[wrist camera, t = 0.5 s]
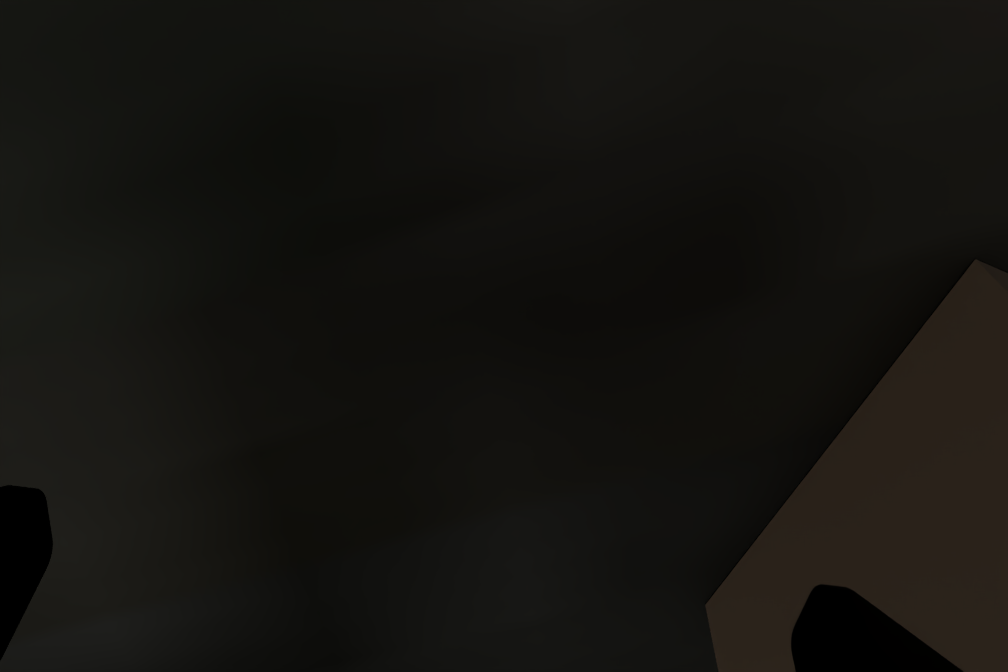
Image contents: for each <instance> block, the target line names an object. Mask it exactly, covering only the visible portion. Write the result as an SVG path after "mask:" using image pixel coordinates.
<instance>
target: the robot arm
mask: <svg viewBox="0 0 1008 672" xmlns="http://www.w3.org/2000/svg"><path fill="white" fill-rule="evenodd" d="M52 547H53V540H52V533H51V527H50V520H49V514H48V507H47V501H46V497H45V495H44V493H43V492H42V491H41V490H39V489H36V488H28V487H20V486H12V485H7V486H3V487H0V660H1V658H2V657H3V655H4V653H5V651H6V649H7V647H8V645H9V643H10V641H11V639H12V637H13V635H14V633H15V631H16V629H17V627H18V625H19V623H20V621H21V619H22V617H23V615H24V613H25V611H26V609H27V607H28V605H29V603H30V601H31V599H32V597H33V595H34V593H35V591H36V589H37V587H38V585H39V583H40V581H41V579H42V577H43V575H44V573H45V571H46V569H47V566H48V564H49V561H50V558H51V554H52ZM791 651H792V657H793V661H794V666H795V670H796V672H964V671H962V670H961V669H960V668H958V667H957V666H956V665H954V664H953V663H951V662H950V661H949V660H947V659H946V658H945V657H943V656H942V655H941V654H939V653H938V652H937V651H935V650H934V649H932V648H931V647H930V646H928V645H927V644H926V643H924V642H923V641H922V640H920V639H919V638H918V637H916V636H915V635H913V634H912V633H911V632H909V631H908V630H907V629H905V628H904V627H903V626H901V625H900V624H898V623H897V622H896V621H894V620H893V619H892V618H890V617H889V616H888V615H886V614H885V613H884V612H882V611H881V610H879V609H878V608H877V607H875V606H874V605H873V604H871V603H870V602H869V601H867V600H866V599H865V598H863V597H862V596H860V595H859V594H858V593H856V592H855V591H854V590H852V589H850V588H848V587H842V586H834V585H826V584H820V585H817V586H815V587H814V588H813V589H812V591H811V592H810V594H809V596H808V598H807V601H806V603H805V605H804V607H803V609H802V611H801V613H800V615H799V617H798V619H797V621H796V623H795V626H794V628H793V631H792V636H791Z"/></svg>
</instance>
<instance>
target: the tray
mask: <svg viewBox="0 0 1008 672" xmlns="http://www.w3.org/2000/svg"><path fill="white" fill-rule="evenodd" d="M820 584H826V585H834V586H842V587H848V588H850V589H852V590H854V591H855V592H856V593H858V594H859V595H860V596H862V597H863V598H865V599H866V600H867V601H869V602H870V603H871V604H873V605H874V606H875V607H877V608H878V609H879V610H881V611H882V612H884V613H885V614H886V615H888V616H889V617H890V618H892V619H893V620H894V621H896V622H897V623H898V624H900V625H901V626H903V627H904V628H905V629H907V630H908V631H909V632H911V633H912V634H913V635H915V636H916V637H918V638H919V639H920V640H922V641H923V642H924V643H926V644H927V645H928V646H930V647H931V648H932V649H934V650H935V651H937V652H938V653H939V654H941V655H942V656H943V657H945V658H946V659H947V660H949V661H950V662H951V663H953V664H954V665H956V666H957V667H958V668H960V669H961V670H962V671H964V672H1008V273H1006V272H1004V271H1001V270H999V269H997V268H995V267H992V266H990V265H988V264H985V263H983V262H981V261H979V260H976V259H975V260H974V262H973V263H972V264H971V265H970V267H969V268H968V269H967V271H966V272H965V273H964V274H963V276H962V277H961V278H960V279H959V281H958V282H957V283H956V285H955V286H954V287H953V288H952V290H951V291H950V292H949V294H948V295H947V296H946V297H945V299H944V300H943V301H942V303H941V304H940V305H939V306H938V308H937V309H936V310H935V311H934V313H933V314H932V315H931V317H930V318H929V319H928V320H927V322H926V323H925V324H924V326H923V327H922V328H921V329H920V331H919V332H918V333H917V335H916V336H915V337H914V338H913V340H912V341H911V342H910V343H909V345H908V346H907V347H906V349H905V350H904V351H903V352H902V354H901V355H900V356H899V358H898V359H897V360H896V361H895V363H894V364H893V365H892V367H891V368H890V369H889V370H888V372H887V373H886V374H885V376H884V377H883V378H882V379H881V381H880V382H879V383H878V384H877V386H876V387H875V388H874V390H873V391H872V392H871V393H870V395H869V396H868V397H867V399H866V400H865V401H864V402H863V404H862V405H861V406H860V408H859V409H858V410H857V411H856V413H855V414H854V415H853V416H852V418H851V419H850V420H849V422H848V423H847V424H846V425H845V427H844V428H843V429H842V431H841V432H840V433H839V434H838V436H837V437H836V438H835V440H834V441H833V442H832V443H831V445H830V446H829V447H828V448H827V450H826V451H825V452H824V454H823V455H822V456H821V457H820V459H819V460H818V461H817V463H816V464H815V465H814V466H813V468H812V469H811V470H810V472H809V473H808V474H807V475H806V477H805V478H804V479H803V480H802V482H801V483H800V484H799V486H798V487H797V488H796V489H795V491H794V492H793V493H792V495H791V496H790V497H789V498H788V500H787V501H786V502H785V504H784V505H783V506H782V507H781V509H780V510H779V511H778V512H777V514H776V515H775V516H774V518H773V519H772V520H771V521H770V523H769V524H768V525H767V527H766V528H765V529H764V530H763V532H762V533H761V534H760V536H759V537H758V538H757V539H756V541H755V542H754V543H753V545H752V546H751V547H750V548H749V550H748V551H747V552H746V553H745V555H744V556H743V557H742V559H741V560H740V561H739V562H738V564H737V565H736V566H735V568H734V569H733V570H732V571H731V573H730V574H729V575H728V577H727V578H726V579H725V580H724V582H723V583H722V584H721V585H720V587H719V588H718V589H717V591H716V592H715V593H714V594H713V596H712V597H711V598H710V600H709V601H708V602H707V603H706V605H705V606H706V611H707V616H708V621H709V626H710V631H711V636H712V641H713V646H714V651H715V656H716V661H717V666H718V671H719V672H796V670H795V666H794V661H793V657H792V651H791V636H792V631H793V628H794V626H795V623H796V621H797V619H798V617H799V615H800V613H801V611H802V609H803V607H804V605H805V603H806V601H807V598H808V596H809V594H810V592H811V591H812V589H813V588H814V587H815V586H817V585H820Z"/></svg>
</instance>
